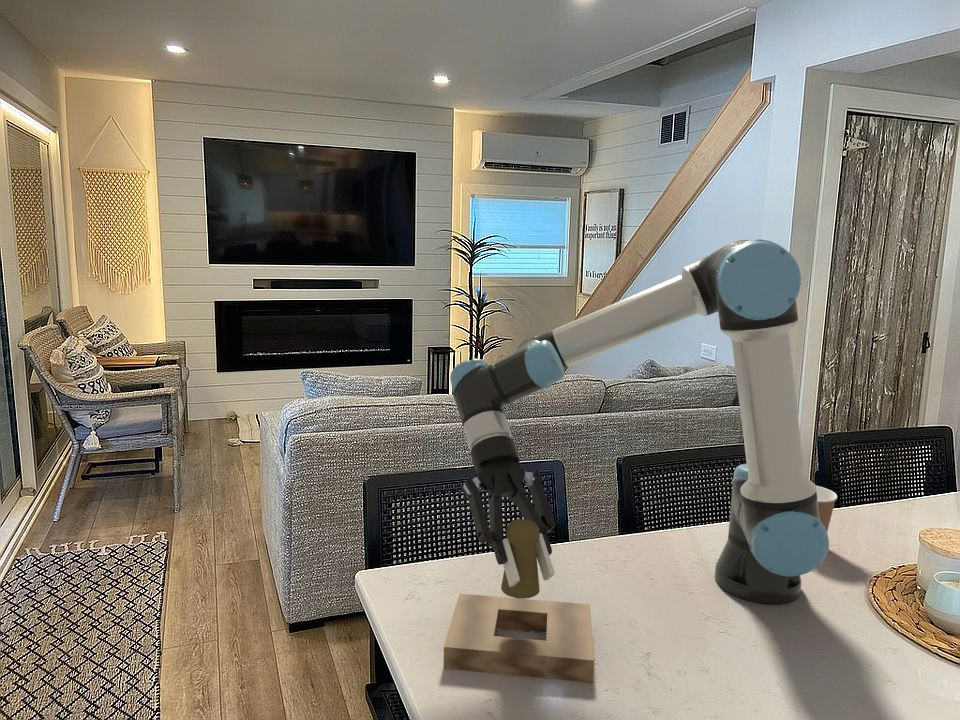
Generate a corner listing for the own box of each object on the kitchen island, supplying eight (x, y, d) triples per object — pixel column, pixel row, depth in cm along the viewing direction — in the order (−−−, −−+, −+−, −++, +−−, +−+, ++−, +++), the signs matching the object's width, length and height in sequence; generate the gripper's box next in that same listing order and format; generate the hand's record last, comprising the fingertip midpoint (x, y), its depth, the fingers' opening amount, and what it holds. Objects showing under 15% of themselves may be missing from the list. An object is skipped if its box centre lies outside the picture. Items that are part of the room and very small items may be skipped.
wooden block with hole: (588, 623, 119) (590, 604, 118) (592, 682, 103) (594, 660, 103) (459, 612, 121) (459, 593, 121) (443, 668, 106) (443, 646, 105)
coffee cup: (827, 539, 155) (833, 487, 153) (834, 559, 145) (840, 503, 143) (776, 532, 158) (782, 480, 156) (780, 550, 149) (785, 496, 147)
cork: (537, 600, 107) (540, 532, 105) (497, 595, 108) (500, 528, 106) (541, 582, 113) (545, 516, 111) (504, 577, 114) (506, 512, 112)
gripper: (531, 450, 125) (574, 578, 113) (434, 460, 118) (469, 598, 106) (547, 428, 119) (594, 562, 108) (446, 438, 112) (484, 582, 100)
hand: (532, 580), depth 107 cm, fingers closed on cork, 5 cm apart
